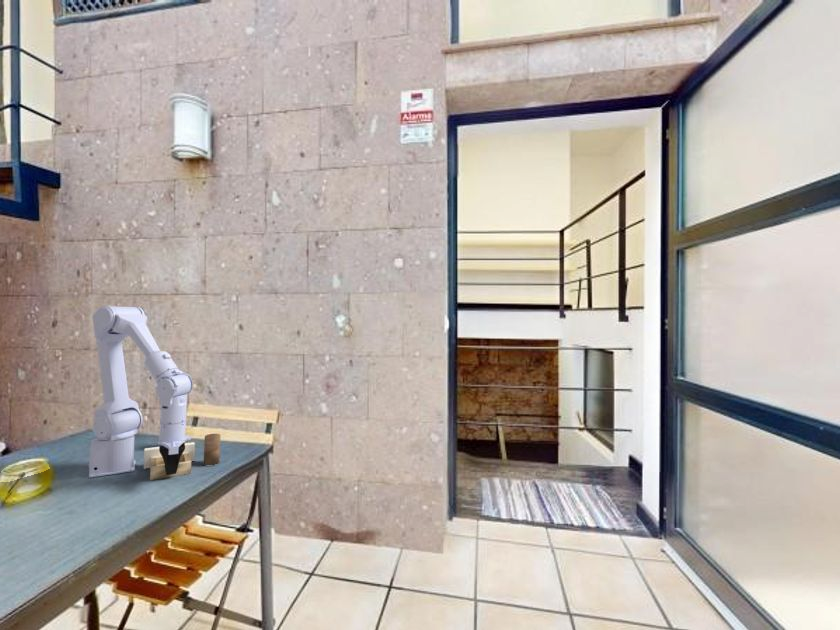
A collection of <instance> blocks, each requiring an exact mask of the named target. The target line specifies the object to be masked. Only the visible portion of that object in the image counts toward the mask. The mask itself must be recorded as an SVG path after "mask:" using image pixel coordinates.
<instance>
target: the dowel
mask: <svg viewBox="0 0 840 630" xmlns="http://www.w3.org/2000/svg"><path fill="white" fill-rule="evenodd" d="M203 442H204V446H203V447H204V448H203V466H204V465H215V464H218V463H219V464H220V459H221V458H220V456H221V455H220V454H221V453H220V452H221V433H210V434H206V435H205V436H204V441H203ZM219 464H218V465H219ZM215 466H216V465H215Z"/></svg>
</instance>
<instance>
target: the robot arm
mask: <svg viewBox="0 0 840 630" xmlns="http://www.w3.org/2000/svg"><path fill="white" fill-rule="evenodd" d="M92 323H93V329H94V331H93V332H94V337H95V342H96V348H97V349H96V350H97V356H98V364H99V365H98V366H99V373H100V380H101V382H100V383H101V389H102V397H103V403H102V404H101V405H99V407H98V408H97V409H95V411H93V424H92V431H93V434H94V436H95V437H96V438H93V439H91V442H90V447H89V461H88V478H89V479H90V478H98V477H104V476H105V477H106V476H111V475H117V474H124V473H130V472H134V471H135V469H136V462H137V461H136V459H135V457H134V456H135V435H136V434H138V430H139V429H140V428H141V427H142V426H143V421H144V418H143V415H142V412H141V410H140V408H139V403H138V402H137V401H134V400H133V399H131V398H130V396H129V388H128V379H127V372H126V367H125V358H124V349H123V343H122V342H123V341H124V340H125V339H126V338H127V337H130V338H131V340H132V341H133V342H134V344H135V345H136V346H137V347H138V349H139V350H140V351H141V352H142V354H143V355H144V356H145V359H144V366H145V367H146V369H147V370H148V371H149V373H150V375H151V376H152V377H153V379H154V381H155V383H156V384H157V386H155V388H154V389H155V393H156V395H157V396H158V404H159V406H160V420H159V421H160V423H159V439H158V444H159V445H161V446H158V447H159V452H160V454H161V455H162V457H163V460H164V464H165V471H166V475H171V474H176V472H177V469H178V465H179V461H180V458H181V455H182V453H183V452H184V450H185V443H184V442H185V441H186V442H187V441H190V440H191V438H192V437H191V435H187V411H188V410H187V405H188V395H189V394H190V393H191V392H192V390H193V387H194V382H193V380H192V379H193V378H192V377H191V375H190V374H189V373H187V372H186V373H185V372H184V371H182V370H180V369H179V367H178V366H177V364H176V363H175V362H174V360H173V359H172V355H171V354H170V353H168V352H167V351H164V350H161V349H160V348H159V346H158V344H157V342H156V340H155V338H154V337H153V335H152V333H151V331H150V329H149V327H148V325H147V323H148V316H147V315H146V314H145V311H144V310H143V309H142V308H141V307H139V306H135V305H134V306H116V305H115V306H113V305H107V304H106V305H102V306H99V308H97V310H96V311H95V312H94V314H93V315H92ZM185 435H186V436H185Z"/></svg>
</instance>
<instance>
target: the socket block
mask: <svg viewBox="0 0 840 630" xmlns="http://www.w3.org/2000/svg"><path fill="white" fill-rule="evenodd" d="M189 473H191V474H192V462H191V459H190V455H189V452H184V453H182V455H181V458H180V461H179V465H178V469H177V472H176V474H171V475H166V471H165V464H164V460H163V457H162V456H156V457H151V465H150V468H149V474H150V475H149V477H150V478H149V479H150V481H155V480H161V479H165V478H172V477H178V476H183V475H184V474H185V475H189ZM185 475H184V476H185ZM154 479H155V480H154Z"/></svg>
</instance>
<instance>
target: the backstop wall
mask: <svg viewBox="0 0 840 630" xmlns="http://www.w3.org/2000/svg"><path fill="white" fill-rule="evenodd" d="M159 447H160V446H155V447H154V446H152V447H145V448H144V452H143V470H146V468H148V469H150V465H151V457H156V456H162V455H161V454H160V452H159ZM195 450H196V443H195V442H194V441H192V442H186V443H185V450H184V452H189V455H190V459H191V463H193V462H192V461H194V462H195V453H196V451H195ZM184 452H183V453H184Z"/></svg>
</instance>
